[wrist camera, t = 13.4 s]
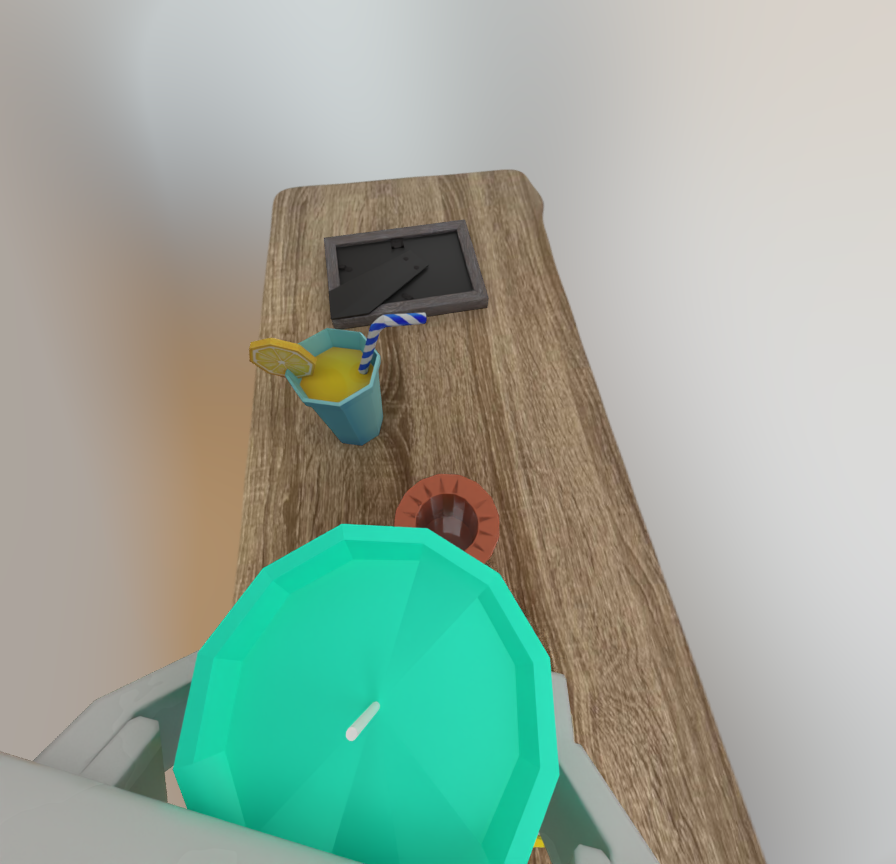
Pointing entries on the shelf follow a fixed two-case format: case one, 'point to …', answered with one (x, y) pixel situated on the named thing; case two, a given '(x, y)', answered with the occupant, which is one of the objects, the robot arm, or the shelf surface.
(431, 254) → the picture frame
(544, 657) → the candle
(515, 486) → the shelf surface
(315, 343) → the cup
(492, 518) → the thick hollow cylinder
